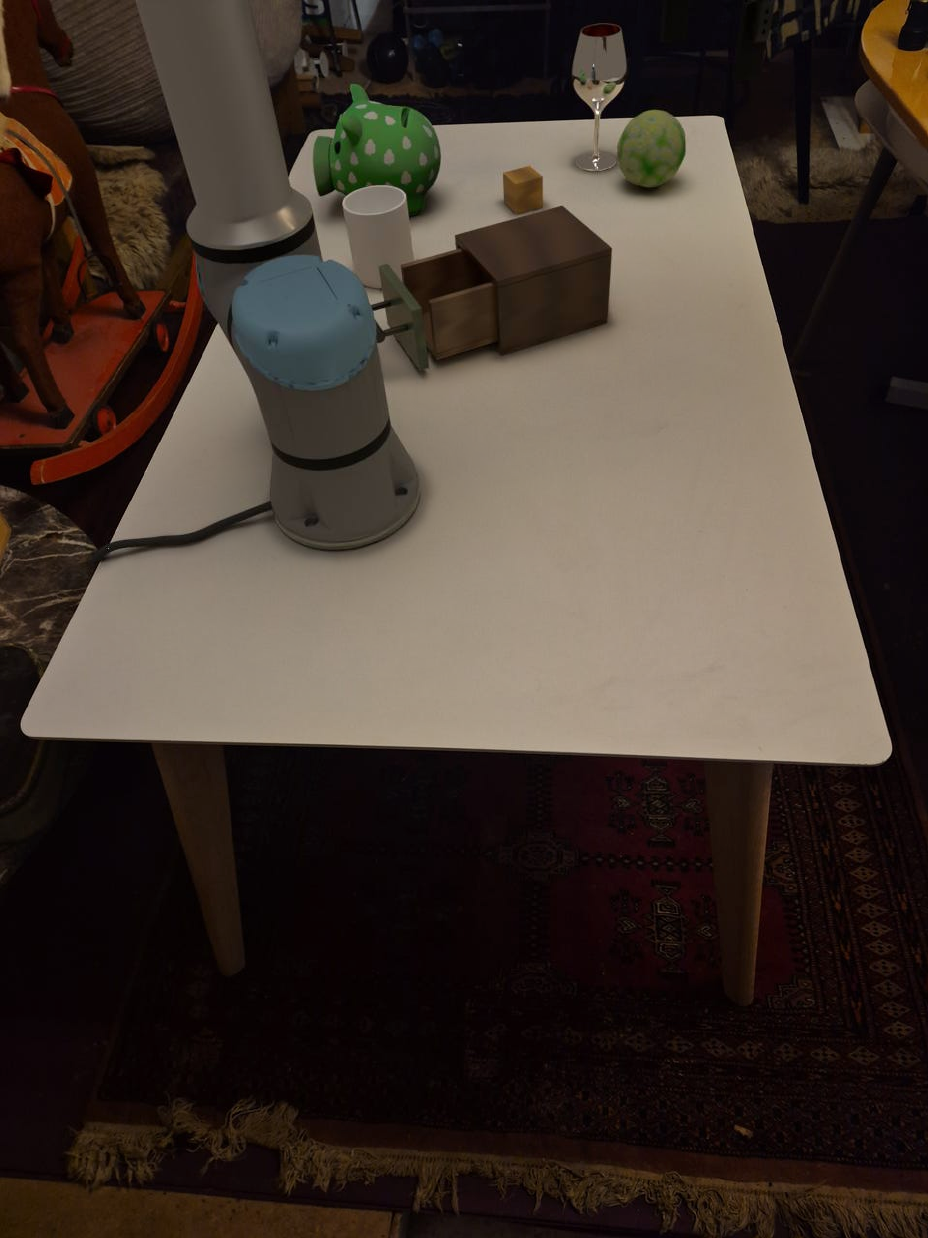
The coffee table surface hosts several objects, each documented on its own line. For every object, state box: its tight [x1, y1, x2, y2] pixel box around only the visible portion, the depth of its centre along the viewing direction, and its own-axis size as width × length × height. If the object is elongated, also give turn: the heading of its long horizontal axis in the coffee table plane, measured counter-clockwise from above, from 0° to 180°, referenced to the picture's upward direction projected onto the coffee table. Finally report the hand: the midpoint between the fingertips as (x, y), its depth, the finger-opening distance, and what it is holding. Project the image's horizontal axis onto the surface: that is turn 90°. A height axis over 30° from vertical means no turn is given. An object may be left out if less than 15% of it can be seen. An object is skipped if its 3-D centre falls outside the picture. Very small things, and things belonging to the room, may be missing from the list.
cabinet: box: [454, 205, 613, 356], centre depth 105 cm, size 15×13×10 cm
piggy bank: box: [312, 83, 442, 217], centre depth 126 cm, size 14×18×15 cm
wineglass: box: [570, 23, 628, 172], centre depth 129 cm, size 8×8×18 cm
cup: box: [341, 185, 415, 290], centre depth 115 cm, size 8×12×10 cm
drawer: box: [371, 248, 498, 372], centre depth 102 cm, size 18×11×8 cm, turn 113°
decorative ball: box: [616, 109, 687, 189], centre depth 126 cm, size 10×10×10 cm
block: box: [502, 165, 544, 215], centre depth 127 cm, size 4×4×4 cm
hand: (707, 57), depth 87 cm, fingers open, 13 cm apart
